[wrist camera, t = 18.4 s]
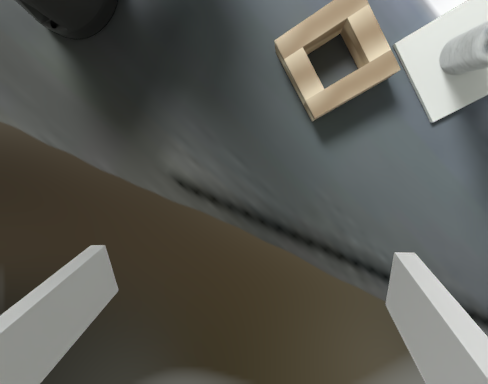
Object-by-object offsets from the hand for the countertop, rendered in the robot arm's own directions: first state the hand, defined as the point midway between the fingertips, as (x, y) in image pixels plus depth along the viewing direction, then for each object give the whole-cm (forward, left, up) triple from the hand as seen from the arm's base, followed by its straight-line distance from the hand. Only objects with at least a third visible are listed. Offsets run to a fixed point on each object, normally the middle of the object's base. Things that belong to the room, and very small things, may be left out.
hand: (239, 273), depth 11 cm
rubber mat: (-3, +27, -27) cm, 38 cm away
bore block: (-11, +14, -27) cm, 32 cm away
